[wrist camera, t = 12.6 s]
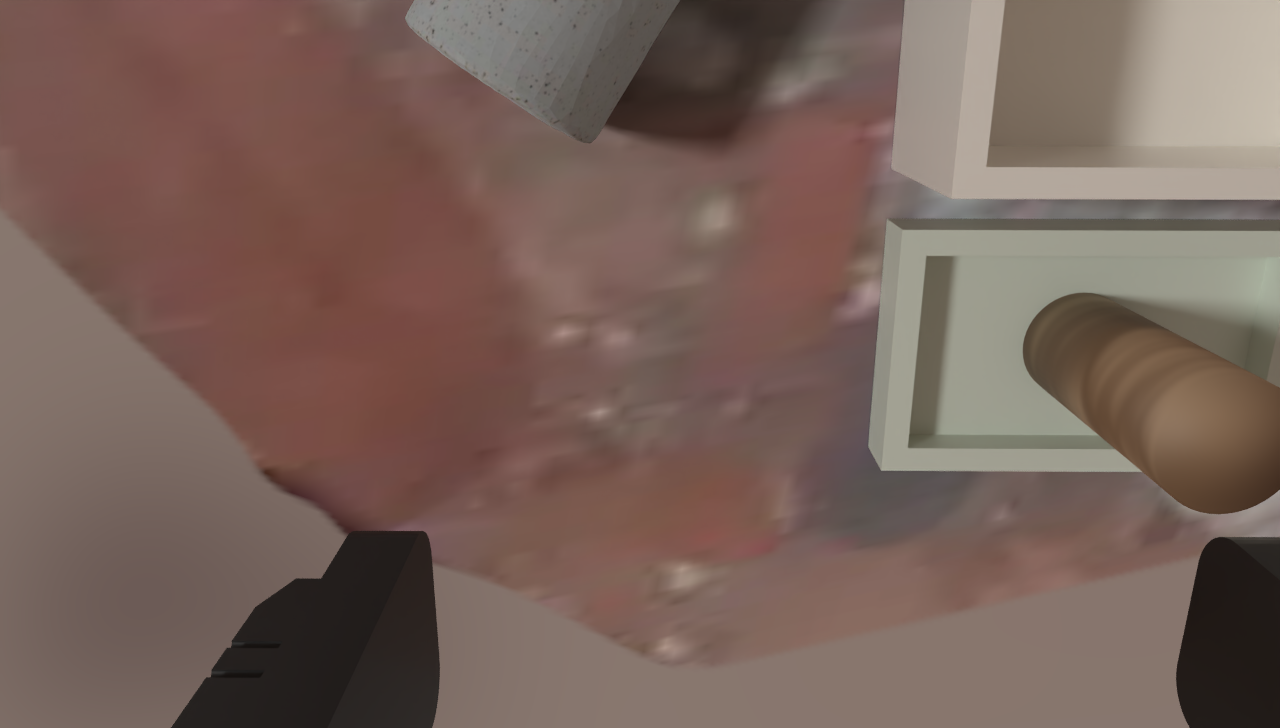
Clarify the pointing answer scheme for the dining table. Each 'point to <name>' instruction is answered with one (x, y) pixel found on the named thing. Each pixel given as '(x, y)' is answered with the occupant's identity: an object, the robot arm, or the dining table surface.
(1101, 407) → the walnut pepper mill
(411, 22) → the grey cylinder
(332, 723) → the robot arm
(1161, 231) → the sage tray
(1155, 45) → the cream open box
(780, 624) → the dining table surface
